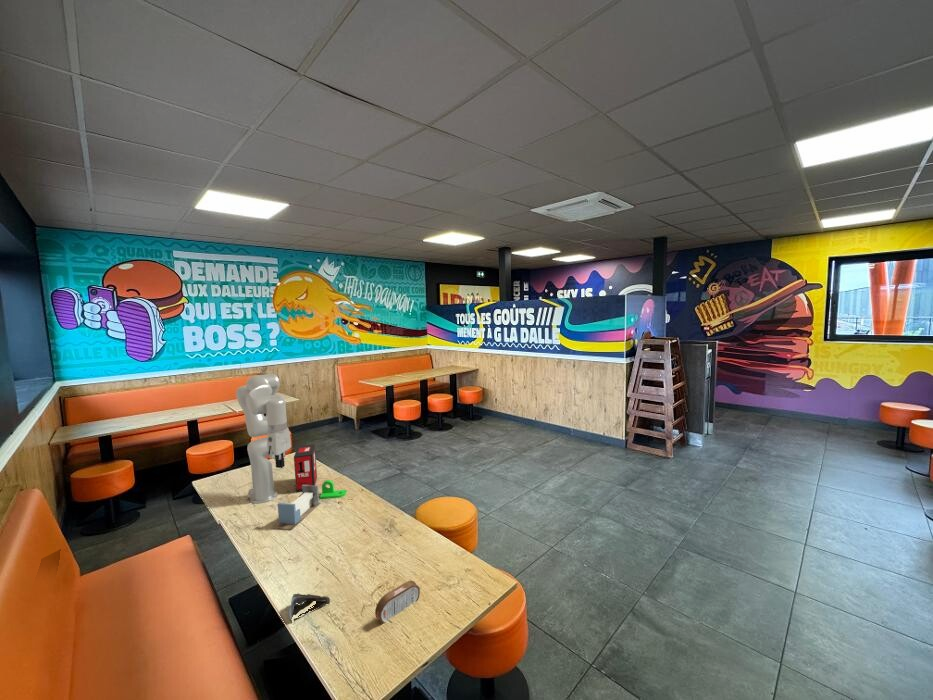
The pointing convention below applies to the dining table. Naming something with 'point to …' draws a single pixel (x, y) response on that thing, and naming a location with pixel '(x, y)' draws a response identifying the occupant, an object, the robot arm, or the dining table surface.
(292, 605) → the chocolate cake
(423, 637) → the dining table surface
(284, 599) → the dining table surface
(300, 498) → the slat
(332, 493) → the mechanical part
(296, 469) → the cleaning product box
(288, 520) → the sliding end cap
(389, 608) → the tin
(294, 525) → the endcap rack
